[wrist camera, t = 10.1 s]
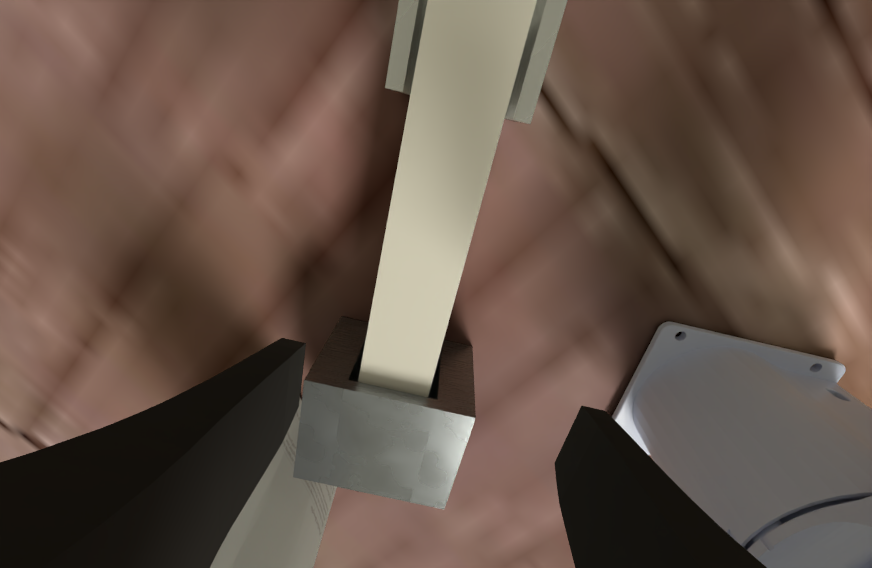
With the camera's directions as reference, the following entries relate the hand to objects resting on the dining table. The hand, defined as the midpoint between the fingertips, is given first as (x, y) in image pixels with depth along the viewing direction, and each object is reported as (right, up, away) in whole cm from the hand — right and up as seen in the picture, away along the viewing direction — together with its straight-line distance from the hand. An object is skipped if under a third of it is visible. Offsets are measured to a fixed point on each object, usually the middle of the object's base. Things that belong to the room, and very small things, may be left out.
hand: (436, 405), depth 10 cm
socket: (-2, -2, +12) cm, 12 cm away
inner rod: (0, +6, +8) cm, 10 cm away
